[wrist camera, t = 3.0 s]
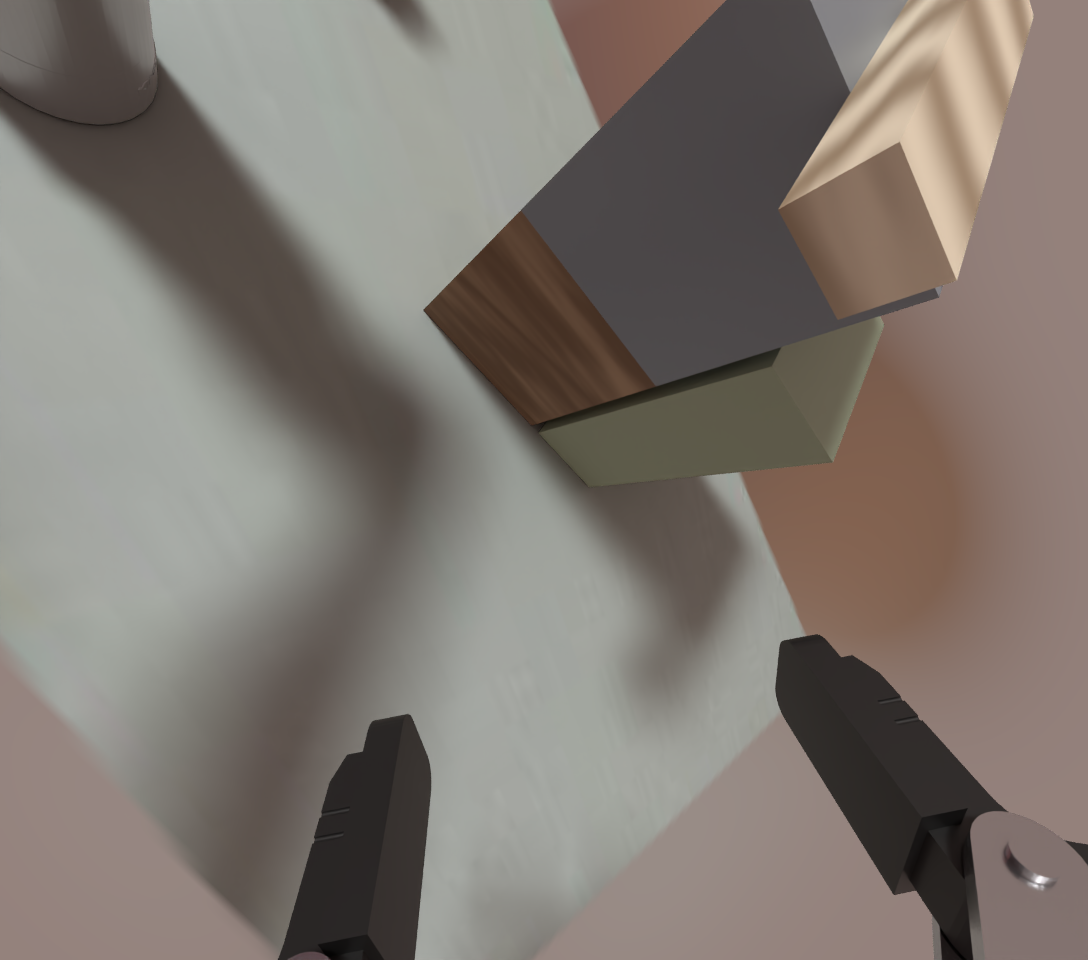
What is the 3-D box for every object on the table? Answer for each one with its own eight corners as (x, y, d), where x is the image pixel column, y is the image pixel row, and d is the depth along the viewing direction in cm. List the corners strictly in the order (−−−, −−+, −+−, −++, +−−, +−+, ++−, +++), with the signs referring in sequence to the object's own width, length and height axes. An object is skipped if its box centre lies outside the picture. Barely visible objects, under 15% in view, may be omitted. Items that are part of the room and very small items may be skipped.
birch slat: (837, 320, 16) (956, 280, 13) (778, 209, 14) (899, 141, 12) (948, 69, 24) (1033, 16, 21) (918, -17, 22) (1006, -84, 20)
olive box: (589, 487, 51) (832, 462, 31) (538, 432, 48) (771, 366, 28) (647, 395, 56) (884, 324, 37) (605, 342, 53) (838, 233, 34)
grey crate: (656, 386, 34) (939, 297, 21) (520, 210, 29) (784, -60, 16) (729, 271, 40) (986, 144, 27) (628, 107, 35) (885, -152, 21)
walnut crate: (531, 425, 47) (656, 386, 34) (423, 309, 42) (520, 210, 29) (600, 334, 53) (729, 271, 40) (512, 223, 48) (628, 107, 35)
